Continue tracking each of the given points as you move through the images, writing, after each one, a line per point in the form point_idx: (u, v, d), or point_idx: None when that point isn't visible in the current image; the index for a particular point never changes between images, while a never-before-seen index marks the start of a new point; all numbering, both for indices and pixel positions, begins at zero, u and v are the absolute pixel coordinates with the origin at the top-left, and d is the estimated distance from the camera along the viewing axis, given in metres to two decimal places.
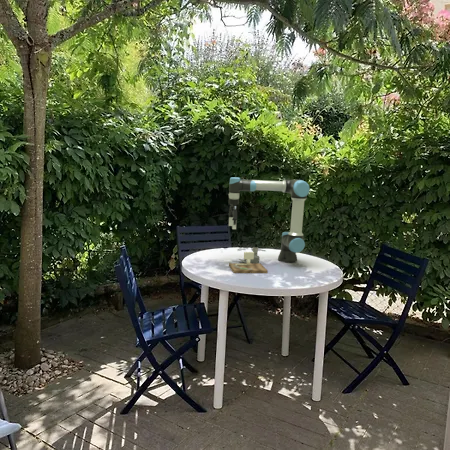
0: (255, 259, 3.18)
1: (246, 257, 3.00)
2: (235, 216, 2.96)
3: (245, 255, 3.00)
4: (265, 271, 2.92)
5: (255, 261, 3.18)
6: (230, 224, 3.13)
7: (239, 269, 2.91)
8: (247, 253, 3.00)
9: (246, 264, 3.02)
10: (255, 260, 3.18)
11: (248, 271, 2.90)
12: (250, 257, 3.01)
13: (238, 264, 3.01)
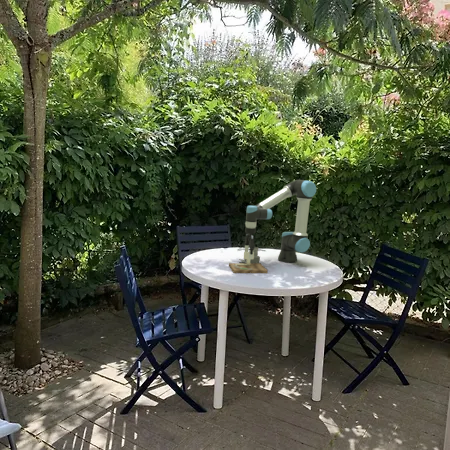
0: (255, 259, 3.18)
1: (246, 257, 3.00)
2: (252, 246, 2.91)
3: (245, 255, 3.00)
4: (265, 271, 2.92)
5: (255, 261, 3.18)
6: None
7: (239, 269, 2.91)
8: (247, 253, 3.00)
9: (246, 264, 3.02)
10: (255, 260, 3.18)
11: (248, 271, 2.90)
12: None
13: (238, 264, 3.01)
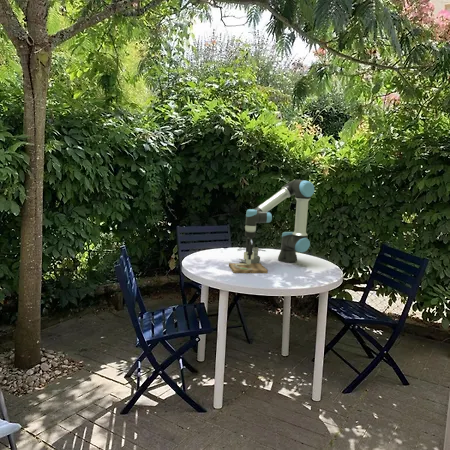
0: (255, 259, 3.18)
1: (246, 257, 3.00)
2: (250, 252, 2.96)
3: (245, 255, 3.00)
4: (265, 271, 2.92)
5: (255, 261, 3.18)
6: None
7: (239, 269, 2.91)
8: (247, 253, 3.00)
9: (246, 264, 3.02)
10: (255, 260, 3.18)
11: (248, 271, 2.90)
12: None
13: (238, 264, 3.01)
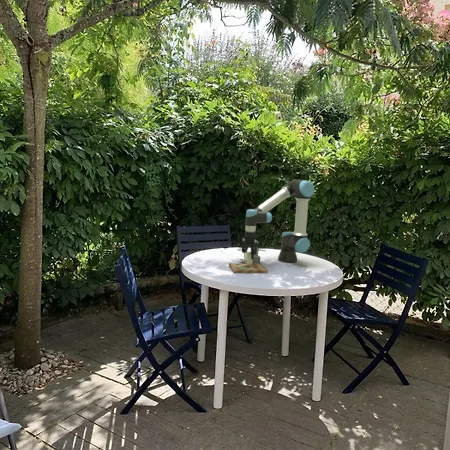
0: (255, 259, 3.17)
1: (247, 257, 3.00)
2: (255, 251, 2.98)
3: (247, 255, 2.99)
4: (265, 271, 2.92)
5: (255, 261, 3.18)
6: (246, 261, 3.03)
7: (239, 269, 2.91)
8: (248, 253, 3.00)
9: (247, 264, 3.01)
10: (255, 260, 3.18)
11: (248, 271, 2.90)
12: None
13: (241, 265, 2.97)
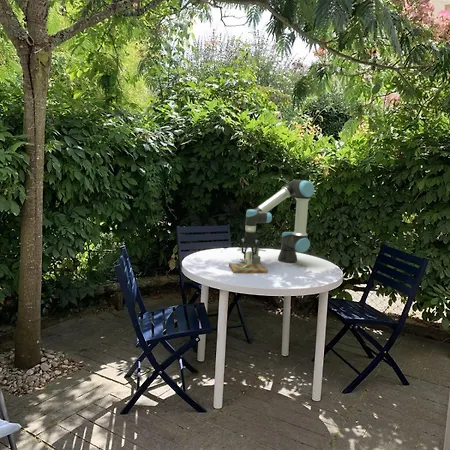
0: (256, 259, 3.17)
1: (249, 257, 3.00)
2: (256, 250, 3.00)
3: (248, 256, 2.99)
4: (265, 271, 2.92)
5: (256, 261, 3.17)
6: None
7: (239, 269, 2.91)
8: (249, 253, 3.00)
9: (248, 264, 3.01)
10: (256, 260, 3.17)
11: (248, 271, 2.90)
12: (250, 257, 3.02)
13: (244, 266, 2.96)
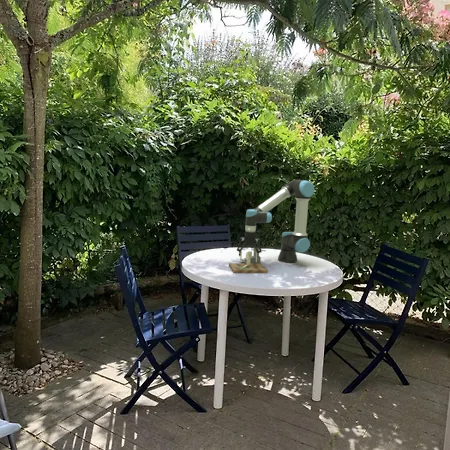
0: None
1: (249, 257, 3.00)
2: None
3: (248, 256, 2.99)
4: (265, 271, 2.92)
5: None
6: None
7: (239, 269, 2.91)
8: (249, 253, 3.00)
9: (248, 264, 3.01)
10: None
11: (248, 271, 2.90)
12: (250, 257, 3.02)
13: (245, 266, 2.96)
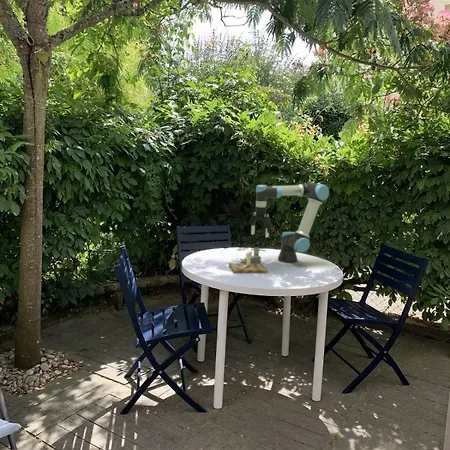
0: (256, 259, 3.17)
1: (249, 257, 3.00)
2: (270, 224, 2.95)
3: (248, 256, 2.99)
4: (265, 271, 2.92)
5: (256, 261, 3.17)
6: (253, 232, 3.08)
7: (239, 269, 2.91)
8: (249, 253, 3.00)
9: (248, 264, 3.01)
10: (256, 260, 3.17)
11: (248, 271, 2.90)
12: (250, 257, 3.02)
13: (245, 266, 2.96)
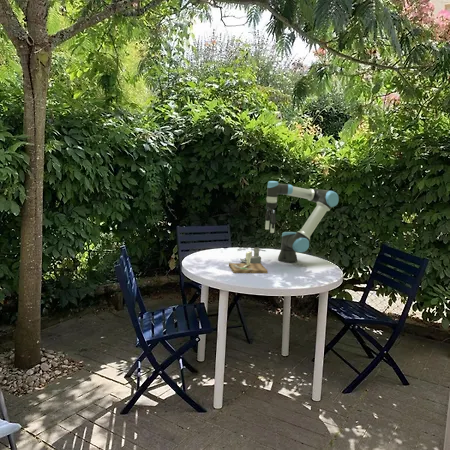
0: (256, 259, 3.17)
1: (249, 257, 3.00)
2: (274, 220, 2.97)
3: (248, 256, 2.99)
4: (265, 271, 2.92)
5: (256, 261, 3.17)
6: (267, 228, 3.13)
7: (239, 269, 2.91)
8: (249, 253, 3.00)
9: (248, 264, 3.01)
10: (256, 260, 3.17)
11: (248, 271, 2.90)
12: (250, 257, 3.02)
13: (245, 266, 2.96)
